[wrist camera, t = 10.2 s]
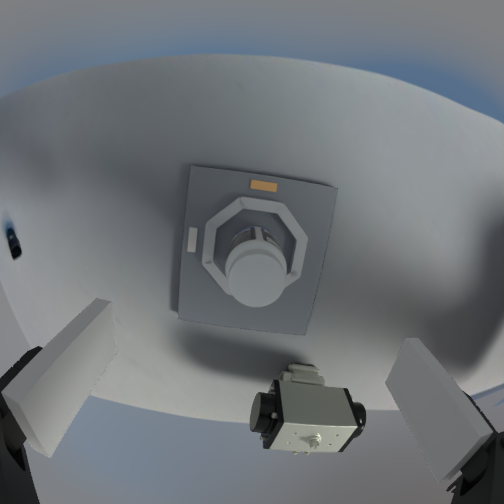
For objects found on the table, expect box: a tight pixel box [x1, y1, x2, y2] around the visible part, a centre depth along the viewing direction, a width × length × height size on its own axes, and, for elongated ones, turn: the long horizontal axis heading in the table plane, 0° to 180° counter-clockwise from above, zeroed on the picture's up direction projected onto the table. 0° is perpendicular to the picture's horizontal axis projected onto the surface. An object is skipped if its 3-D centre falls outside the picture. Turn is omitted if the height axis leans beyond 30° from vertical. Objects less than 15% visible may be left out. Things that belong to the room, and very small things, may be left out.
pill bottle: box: [225, 226, 287, 307], centre depth 23 cm, size 5×5×8 cm
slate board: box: [178, 166, 338, 335], centre depth 28 cm, size 14×16×2 cm
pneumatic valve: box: [250, 363, 366, 455], centre depth 27 cm, size 6×12×12 cm, turn 75°
